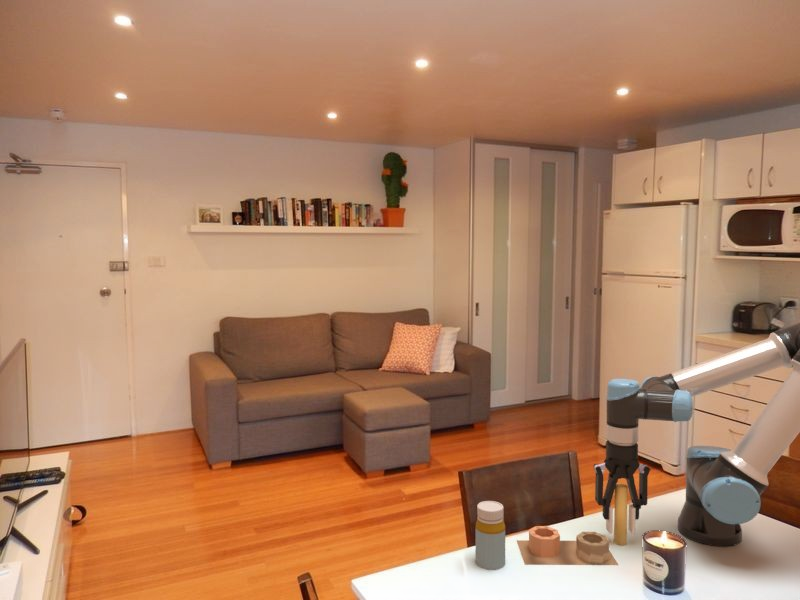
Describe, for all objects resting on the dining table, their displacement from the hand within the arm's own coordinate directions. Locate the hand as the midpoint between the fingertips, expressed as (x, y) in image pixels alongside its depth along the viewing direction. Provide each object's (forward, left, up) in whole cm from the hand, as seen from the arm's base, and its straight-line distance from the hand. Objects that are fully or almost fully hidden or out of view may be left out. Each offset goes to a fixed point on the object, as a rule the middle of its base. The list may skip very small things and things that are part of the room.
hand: (620, 531), depth 152 cm
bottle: (+34, +10, -4) cm, 36 cm away
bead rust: (+20, +4, -3) cm, 21 cm away
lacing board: (+15, +5, -4) cm, 16 cm away
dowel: (0, 0, -4) cm, 4 cm away
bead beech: (+9, +7, -3) cm, 12 cm away
